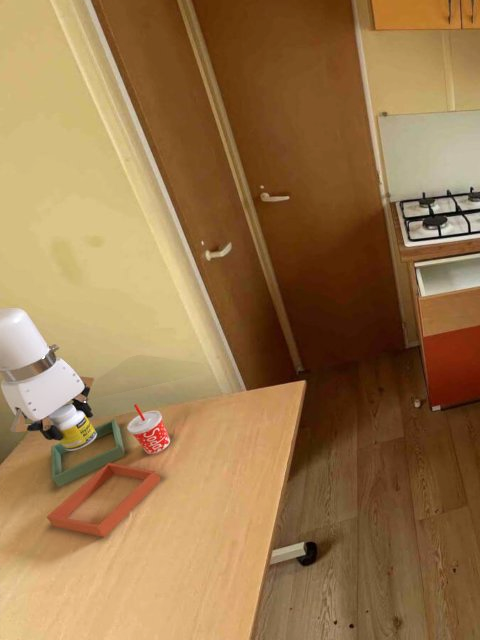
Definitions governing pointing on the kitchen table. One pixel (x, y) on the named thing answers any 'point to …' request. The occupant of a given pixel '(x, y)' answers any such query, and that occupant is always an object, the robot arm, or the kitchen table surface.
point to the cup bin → (93, 484)
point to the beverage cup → (149, 431)
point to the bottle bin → (92, 463)
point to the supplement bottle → (73, 427)
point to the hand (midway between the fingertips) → (71, 426)
